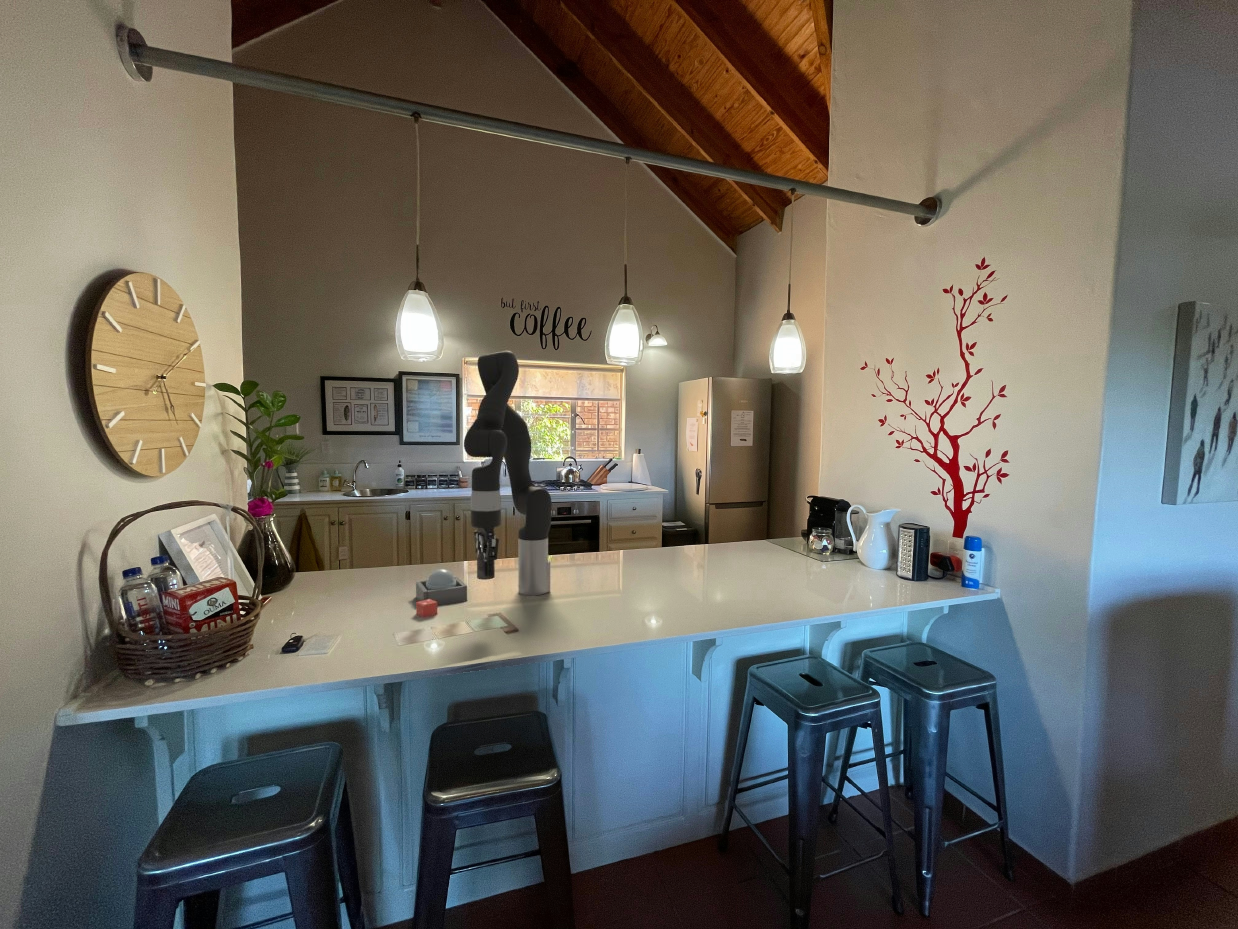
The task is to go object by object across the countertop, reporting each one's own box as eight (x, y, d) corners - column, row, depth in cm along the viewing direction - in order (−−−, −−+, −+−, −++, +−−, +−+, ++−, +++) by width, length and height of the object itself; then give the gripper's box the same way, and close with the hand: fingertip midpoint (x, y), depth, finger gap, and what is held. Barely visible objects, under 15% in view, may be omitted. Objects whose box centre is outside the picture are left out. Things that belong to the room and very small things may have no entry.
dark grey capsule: (491, 574, 144) (491, 548, 143) (496, 578, 140) (496, 551, 140) (474, 576, 142) (474, 549, 141) (479, 580, 138) (479, 553, 137)
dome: (452, 588, 170) (452, 564, 169) (459, 596, 162) (459, 570, 162) (423, 592, 165) (423, 567, 165) (429, 600, 158) (429, 574, 158)
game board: (500, 614, 151) (500, 611, 151) (518, 631, 139) (518, 627, 139) (383, 634, 136) (383, 631, 135) (392, 655, 124) (392, 651, 123)
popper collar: (456, 590, 173) (456, 576, 172) (467, 601, 162) (467, 586, 162) (415, 596, 166) (415, 581, 166) (424, 607, 156) (423, 592, 155)
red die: (430, 613, 151) (430, 598, 151) (437, 616, 149) (437, 601, 148) (416, 616, 148) (416, 601, 148) (423, 620, 146) (423, 605, 145)
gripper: (509, 510, 135) (509, 578, 137) (491, 503, 148) (491, 565, 149) (479, 512, 132) (479, 582, 133) (463, 505, 144) (464, 568, 145)
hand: (485, 573), depth 141 cm, fingers closed on dark grey capsule, 4 cm apart
